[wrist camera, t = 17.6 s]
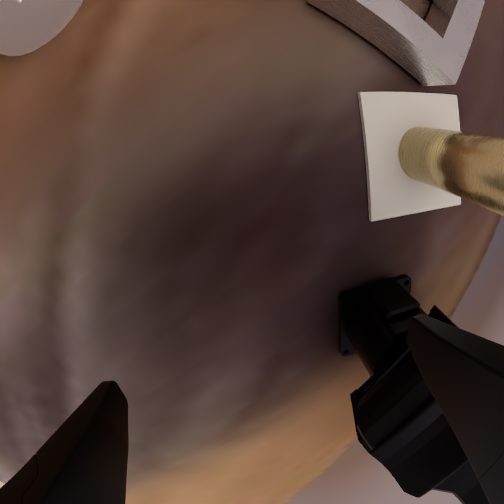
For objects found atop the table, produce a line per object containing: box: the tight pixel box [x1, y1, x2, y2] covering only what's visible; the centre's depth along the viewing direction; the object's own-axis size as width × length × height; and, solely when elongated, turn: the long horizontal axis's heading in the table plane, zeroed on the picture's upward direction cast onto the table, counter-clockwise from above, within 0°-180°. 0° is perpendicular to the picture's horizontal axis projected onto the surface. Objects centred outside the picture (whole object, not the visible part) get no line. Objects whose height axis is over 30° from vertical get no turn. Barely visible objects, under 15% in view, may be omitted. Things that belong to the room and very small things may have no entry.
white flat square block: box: [357, 92, 461, 222], centre depth 20 cm, size 9×9×1 cm
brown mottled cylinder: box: [398, 127, 504, 216], centre depth 15 cm, size 4×4×10 cm
